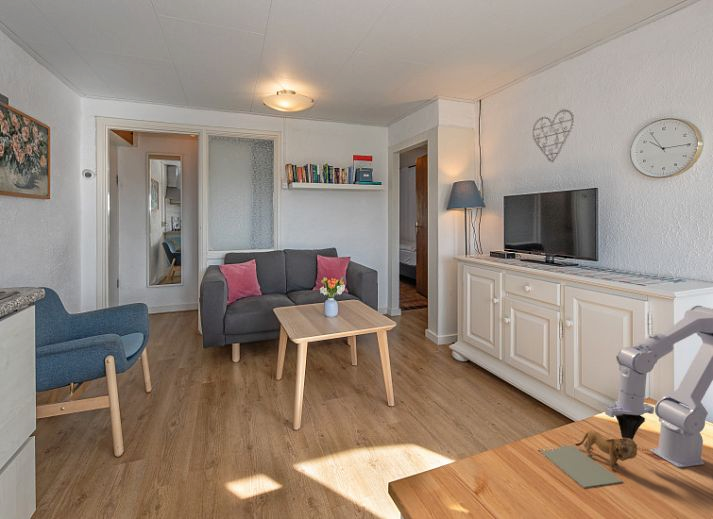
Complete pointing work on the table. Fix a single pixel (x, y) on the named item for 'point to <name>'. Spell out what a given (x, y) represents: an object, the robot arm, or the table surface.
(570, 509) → the table surface
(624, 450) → the lion figurine
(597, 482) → the mat
